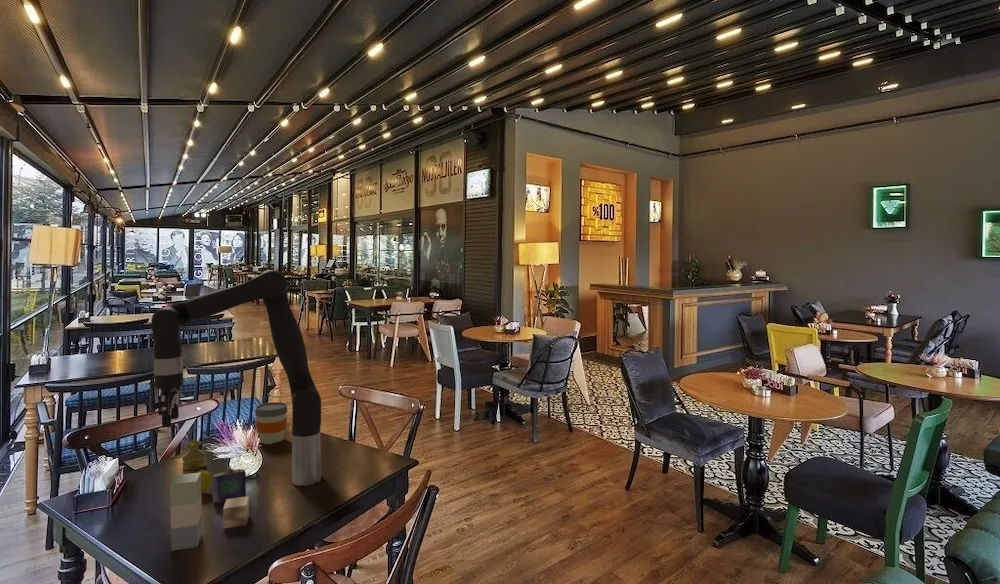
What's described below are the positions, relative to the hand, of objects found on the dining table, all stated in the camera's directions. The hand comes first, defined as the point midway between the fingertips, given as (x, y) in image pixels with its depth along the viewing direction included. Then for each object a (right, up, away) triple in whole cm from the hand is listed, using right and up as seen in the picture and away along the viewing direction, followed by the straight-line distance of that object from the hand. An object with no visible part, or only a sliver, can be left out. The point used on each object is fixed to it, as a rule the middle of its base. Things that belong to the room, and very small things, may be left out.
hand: (170, 422), depth 155 cm
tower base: (+18, -27, -20) cm, 38 cm away
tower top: (+18, -16, -21) cm, 31 cm away
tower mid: (+18, -21, -20) cm, 35 cm away
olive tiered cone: (-10, -24, +29) cm, 39 cm away
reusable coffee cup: (+5, -23, +57) cm, 62 cm away
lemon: (+5, -26, +8) cm, 27 cm away
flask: (+16, -26, +5) cm, 31 cm away
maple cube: (+25, -27, -9) cm, 38 cm away
